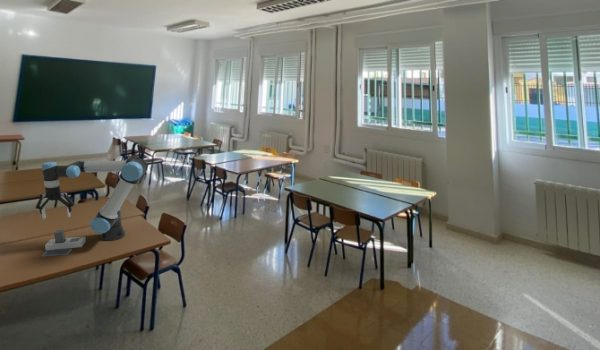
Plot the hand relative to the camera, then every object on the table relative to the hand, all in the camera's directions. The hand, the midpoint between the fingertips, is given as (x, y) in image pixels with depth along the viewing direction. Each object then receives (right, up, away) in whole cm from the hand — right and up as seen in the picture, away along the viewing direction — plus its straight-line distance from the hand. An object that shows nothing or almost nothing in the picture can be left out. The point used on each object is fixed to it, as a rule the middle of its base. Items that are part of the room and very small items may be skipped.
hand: (57, 217), depth 204 cm
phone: (+3, -23, -4) cm, 23 cm away
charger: (-1, -19, +5) cm, 20 cm away
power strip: (+2, -20, +6) cm, 21 cm away
